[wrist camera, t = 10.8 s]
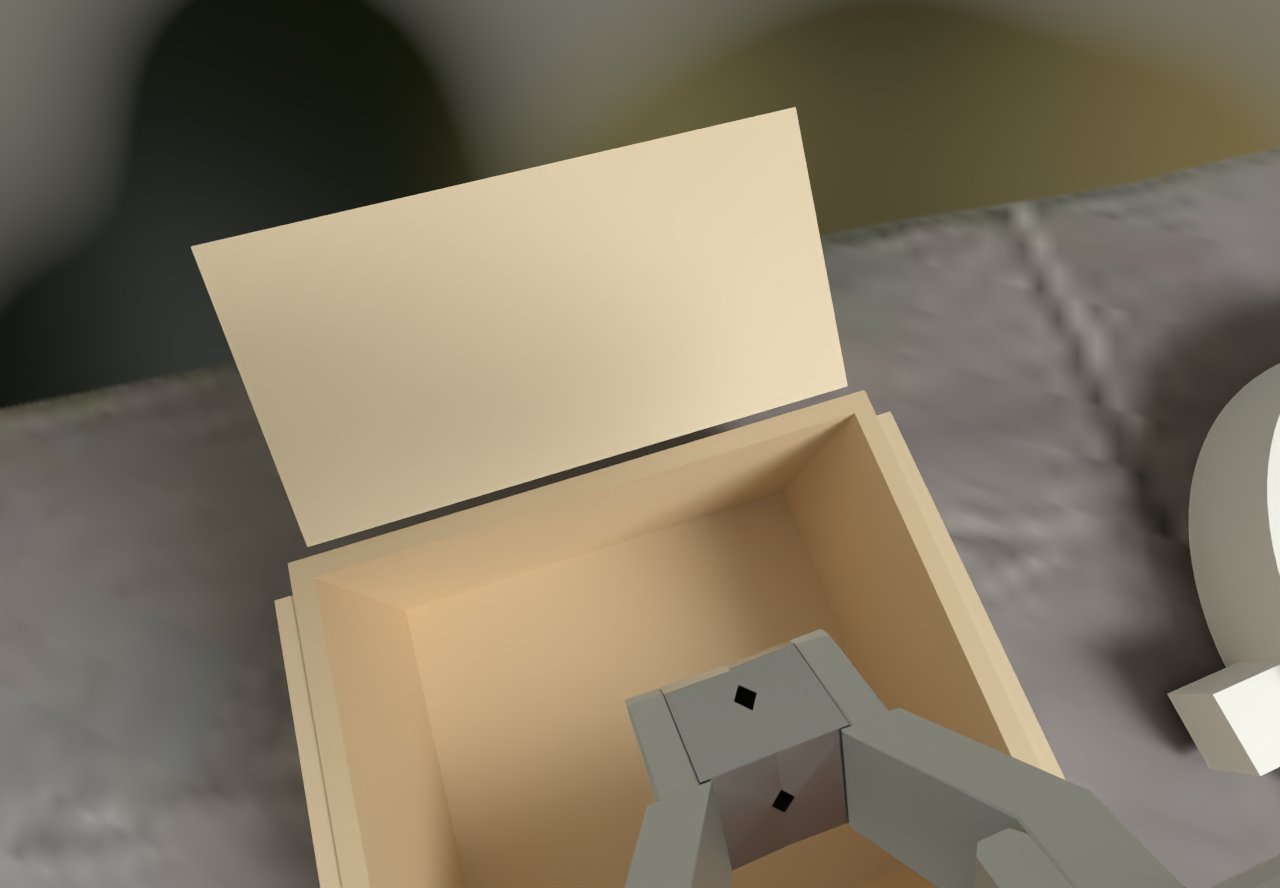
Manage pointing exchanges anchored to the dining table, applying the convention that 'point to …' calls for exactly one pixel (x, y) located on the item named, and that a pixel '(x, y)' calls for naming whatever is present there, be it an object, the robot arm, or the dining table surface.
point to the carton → (621, 652)
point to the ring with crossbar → (1238, 583)
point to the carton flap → (528, 321)
